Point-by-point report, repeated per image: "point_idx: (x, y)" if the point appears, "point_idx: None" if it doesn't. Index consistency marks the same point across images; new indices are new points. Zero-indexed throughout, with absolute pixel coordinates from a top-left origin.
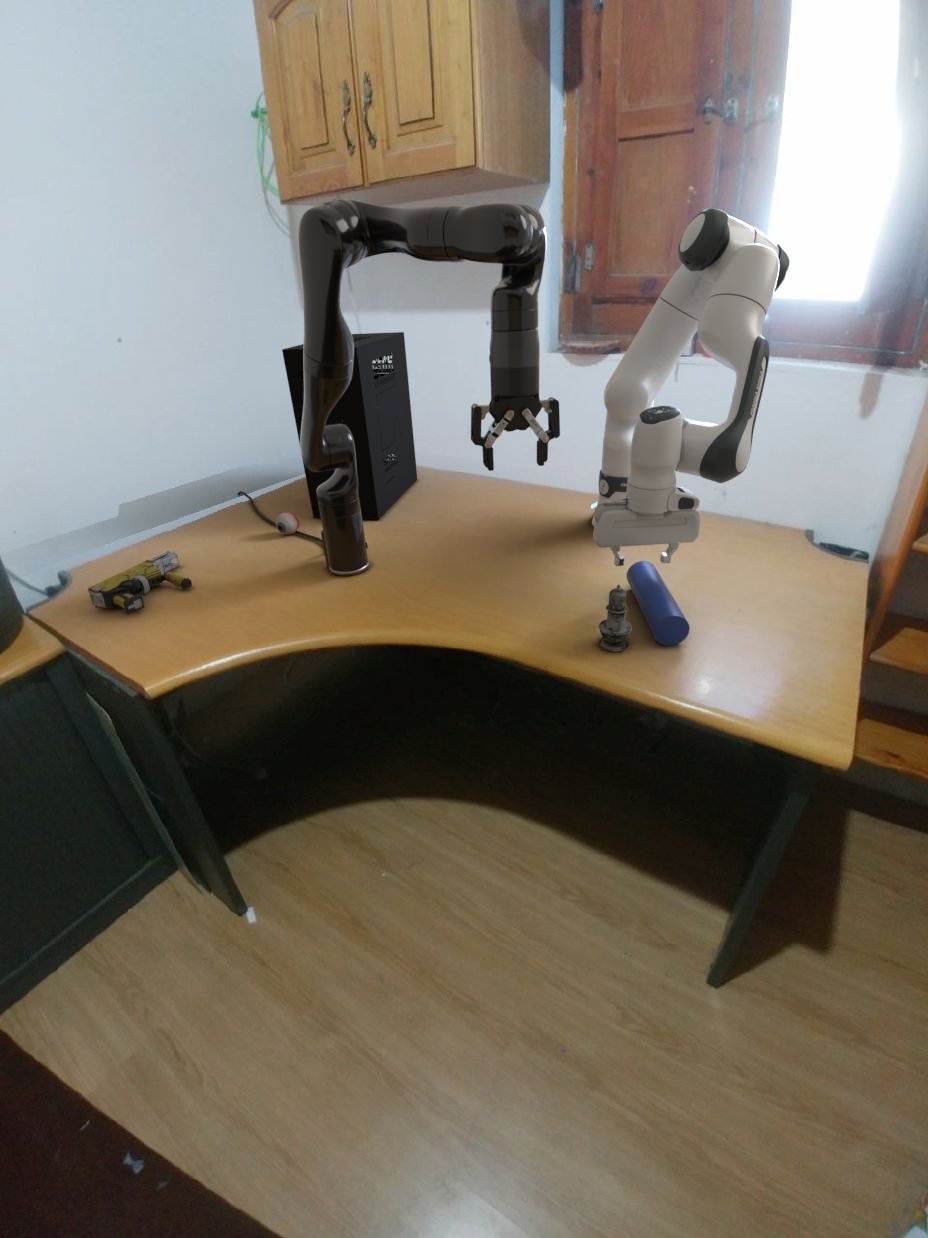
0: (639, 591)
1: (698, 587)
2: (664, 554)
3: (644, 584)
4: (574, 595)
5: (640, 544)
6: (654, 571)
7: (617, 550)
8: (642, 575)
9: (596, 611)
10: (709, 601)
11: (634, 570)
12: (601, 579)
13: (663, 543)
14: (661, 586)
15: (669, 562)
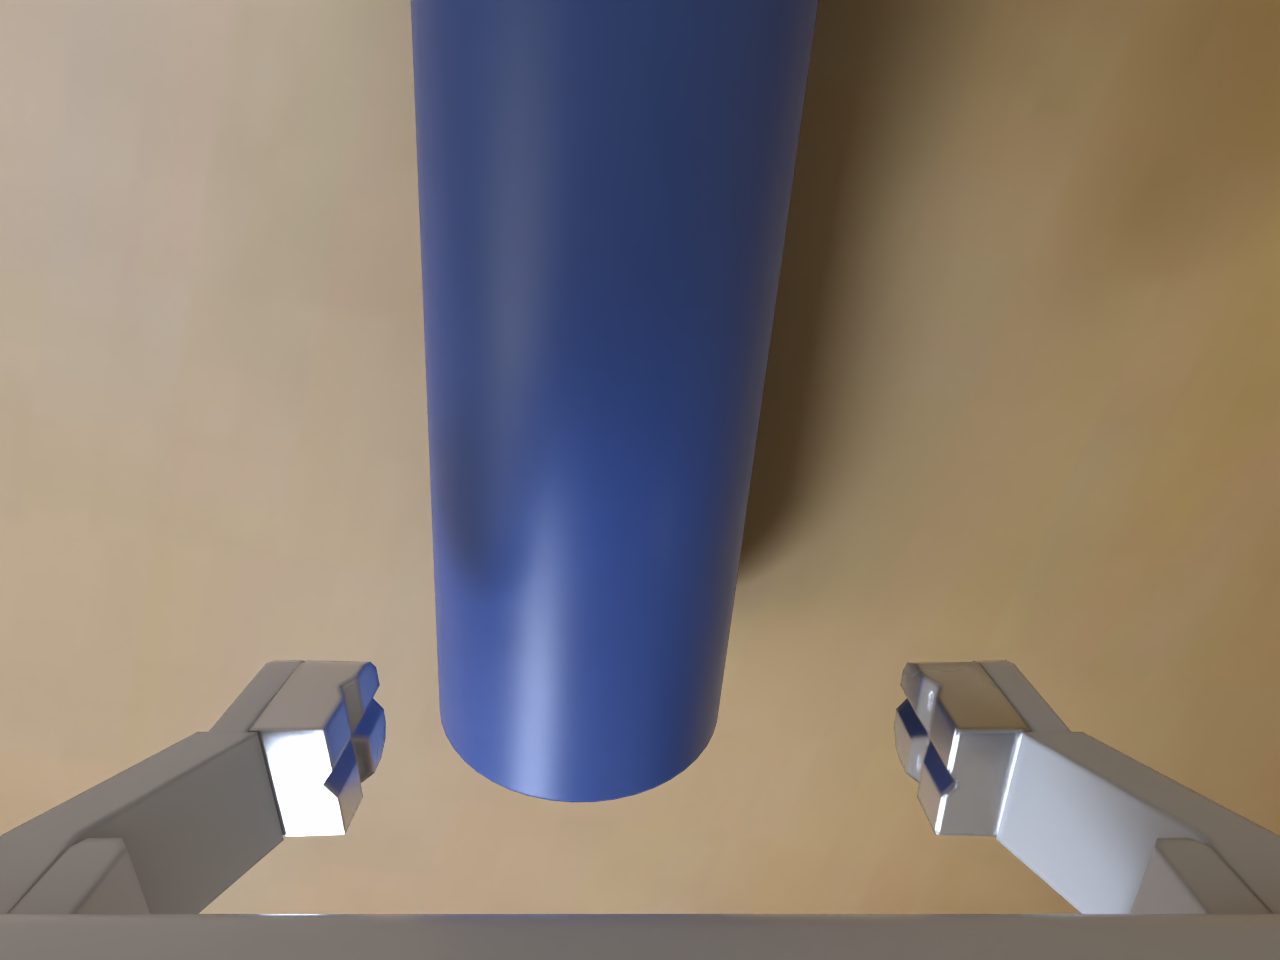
0: (779, 241)
1: (127, 561)
2: (306, 775)
3: (724, 278)
4: (1131, 568)
5: (810, 930)
6: (503, 572)
7: (1201, 850)
8: (676, 500)
9: (1089, 281)
10: (62, 317)
11: (696, 667)
12: (828, 761)
13: (237, 918)
14: (535, 99)
15: (279, 661)
